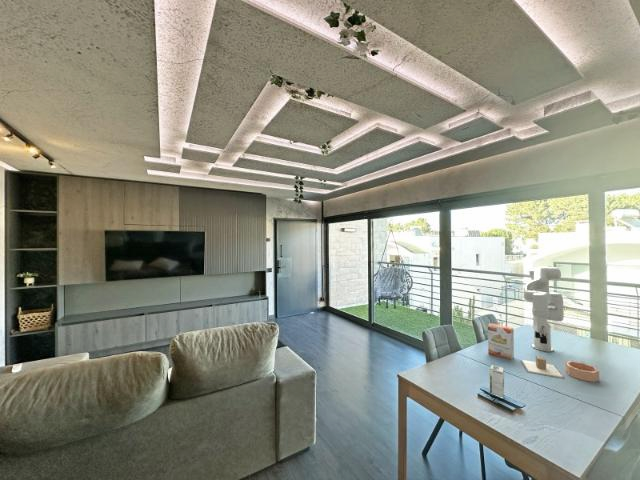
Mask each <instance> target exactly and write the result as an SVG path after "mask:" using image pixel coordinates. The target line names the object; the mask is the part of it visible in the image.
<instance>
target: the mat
mask: <svg viewBox="0 0 640 480" xmlns="http://www.w3.org/2000/svg"><path fill="white" fill-rule="evenodd" d="M519 362H520V363H521V366H522V367H523V368H524V370H525V372H526V373H527V374H531V375H532V374H534V375H540V376H544V377H550V378H556V379H561V380H566V378H565V377H564V375H563V374H562V373H561V372H560V371H559V369H558V368H557V367H556V366H555V365H554V367H555V368H556V369H557V370H558V371H559V373H560V374H561V375H562V376H563V378H560V377H554V376H548V375H543V374H537V373H531V372H528V370H527V369H526V367H525V365H524V364H523V362H522V359H520V360H519Z"/></svg>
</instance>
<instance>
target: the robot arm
mask: <svg viewBox="0 0 640 480" xmlns="http://www.w3.org/2000/svg"><path fill="white" fill-rule="evenodd" d="M561 272H562V271H561V270H560V269H559V268H558V267H554V266H553V267H551V266H537V267H535V268H534V267H533V268H530V270H529V271H528V273H529V276H530V279H531V281H529V282H528V283H526V285H525V286H524V288H523V298H524V300H525V301H526V302H528V303H532V309H531V312H532V316H533V317H532V318H533V321H532V322H533V323H532V324H533V325H532V328H533V340H534V341H533V343H532V344H531V347H532V348H533V349H534V350H538V351H542V352H554V351H555V349H554V347H552V340H551V339H552V335H551V334H552V332H551V331H552V329H551V325H550V323H549V322H548V321H553V322H563V320H564V316H565V314H564V298H563V295H562V293H558V292H553V291H551V292H550V282H551V281H552V282H558V281H560V280H561V277H562V273H561ZM552 306H553V307H552Z"/></svg>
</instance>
